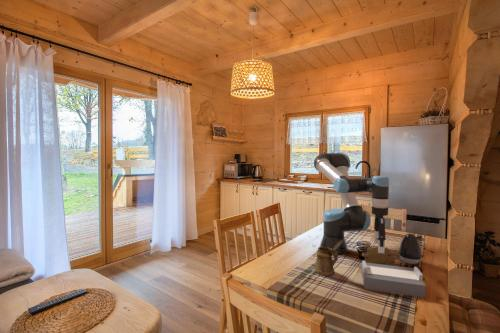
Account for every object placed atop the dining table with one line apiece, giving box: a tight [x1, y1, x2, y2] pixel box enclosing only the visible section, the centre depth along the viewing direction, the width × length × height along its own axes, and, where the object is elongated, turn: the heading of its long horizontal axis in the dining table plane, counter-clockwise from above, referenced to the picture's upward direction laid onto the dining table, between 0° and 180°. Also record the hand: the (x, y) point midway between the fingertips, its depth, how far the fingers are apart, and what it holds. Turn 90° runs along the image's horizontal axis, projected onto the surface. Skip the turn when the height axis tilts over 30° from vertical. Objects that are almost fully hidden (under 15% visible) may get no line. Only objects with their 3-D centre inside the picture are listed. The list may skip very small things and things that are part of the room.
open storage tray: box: [360, 260, 427, 299], centre depth 114 cm, size 22×16×7 cm
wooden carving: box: [361, 245, 397, 266], centre depth 134 cm, size 16×5×10 cm, turn 84°
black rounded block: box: [398, 232, 423, 265], centre depth 136 cm, size 10×10×15 cm
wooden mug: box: [313, 240, 343, 277], centre depth 124 cm, size 9×14×18 cm, turn 45°
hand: (379, 248), depth 133 cm, fingers open, 13 cm apart
